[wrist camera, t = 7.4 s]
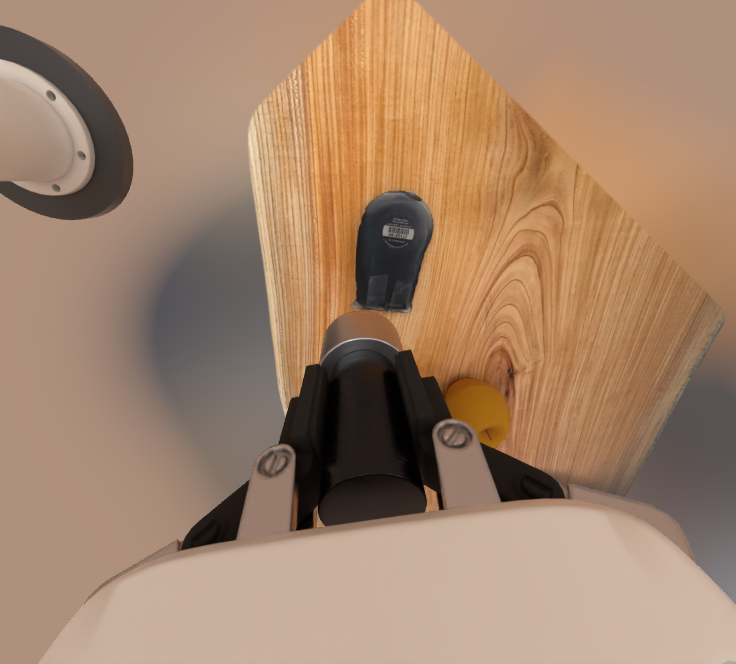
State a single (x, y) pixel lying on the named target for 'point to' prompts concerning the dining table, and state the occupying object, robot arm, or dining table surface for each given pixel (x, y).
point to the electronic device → (391, 251)
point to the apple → (480, 409)
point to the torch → (366, 426)
